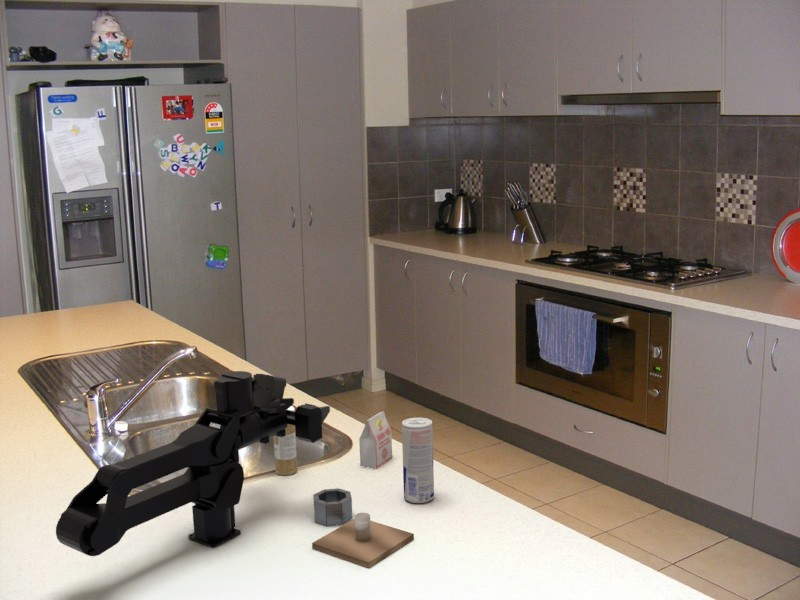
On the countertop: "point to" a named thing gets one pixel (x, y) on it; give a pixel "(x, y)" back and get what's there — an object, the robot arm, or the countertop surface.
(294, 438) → the sprinkles bottle
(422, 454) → the beverage can
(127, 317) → the countertop surface
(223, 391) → the robot arm
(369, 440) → the mini juice carton
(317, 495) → the ring
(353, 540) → the brown peg base
